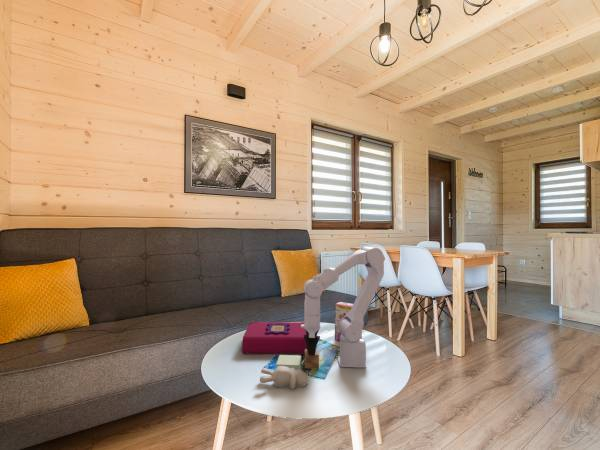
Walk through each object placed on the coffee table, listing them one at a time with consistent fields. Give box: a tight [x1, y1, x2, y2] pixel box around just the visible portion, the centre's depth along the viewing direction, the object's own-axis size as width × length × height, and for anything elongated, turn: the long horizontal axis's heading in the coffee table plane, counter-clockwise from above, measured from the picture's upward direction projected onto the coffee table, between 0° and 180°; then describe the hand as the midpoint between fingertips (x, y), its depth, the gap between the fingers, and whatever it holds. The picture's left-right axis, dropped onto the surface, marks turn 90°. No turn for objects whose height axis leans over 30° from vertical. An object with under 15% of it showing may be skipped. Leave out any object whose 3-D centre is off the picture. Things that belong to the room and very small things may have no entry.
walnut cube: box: [304, 349, 320, 370], centre depth 113 cm, size 5×5×5 cm
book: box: [241, 321, 307, 355], centre depth 133 cm, size 21×28×8 cm
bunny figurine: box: [259, 366, 309, 390], centre depth 99 cm, size 10×5×15 cm
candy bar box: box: [334, 301, 363, 342], centre depth 137 cm, size 11×5×16 cm, turn 58°
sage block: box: [275, 354, 302, 370], centre depth 110 cm, size 8×8×4 cm
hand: (311, 350), depth 113 cm, fingers open, 7 cm apart
